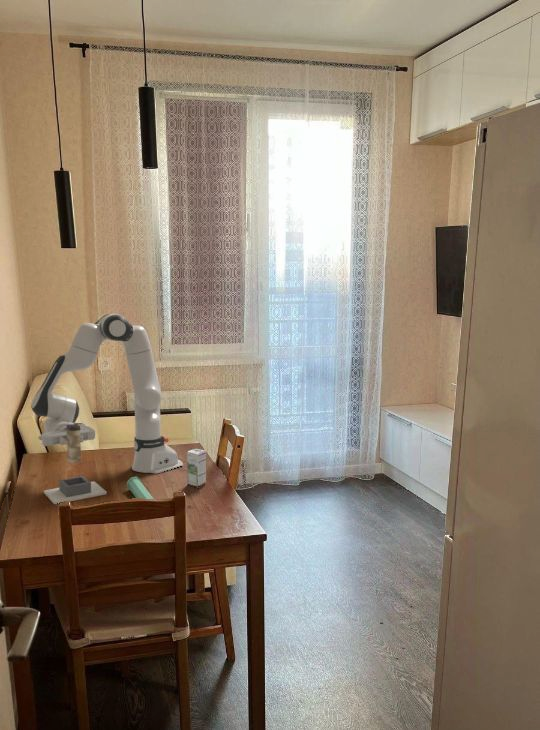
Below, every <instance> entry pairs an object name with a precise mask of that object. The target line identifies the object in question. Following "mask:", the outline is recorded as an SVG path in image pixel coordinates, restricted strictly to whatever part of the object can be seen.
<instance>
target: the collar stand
mask: <svg viewBox="0 0 540 730" xmlns="http://www.w3.org/2000/svg"><path fill="white" fill-rule="evenodd" d="M58 486H59V487H55V488H50V489H46V490H43V494H44V495H45V496H46V498H48V499H49V501H51V503H53V505H54V504H55V505H60V504H61V503H60V502H64V501H70V502H73V501H79V500H83V499H89V498H94V497H99V496H104V495H107V494H108V493H107V491H106V490H105V489H104V488H103V487H101V486H100V484H98V483H97V482H96V481H89V479H88V478H86V477H85V476H84V475H80V476H74V477H68V478H62V479H59V480H58ZM57 503H58V504H57ZM59 503H60V504H59Z"/></svg>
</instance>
